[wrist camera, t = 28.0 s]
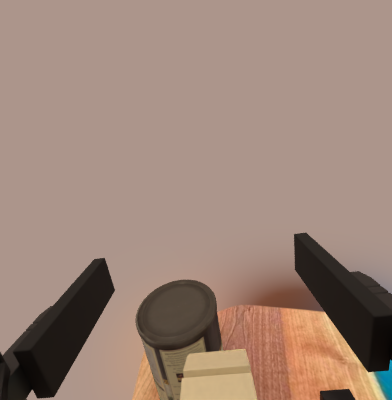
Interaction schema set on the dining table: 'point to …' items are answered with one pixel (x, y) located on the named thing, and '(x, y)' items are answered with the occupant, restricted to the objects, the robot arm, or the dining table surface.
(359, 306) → the robot arm
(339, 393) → the hook stand
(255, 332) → the dining table surface
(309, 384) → the dining table surface
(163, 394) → the coffee can
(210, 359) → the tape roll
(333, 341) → the dining table surface
